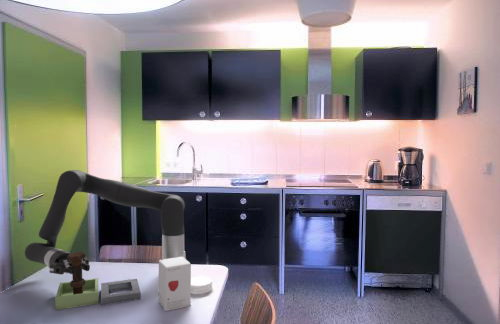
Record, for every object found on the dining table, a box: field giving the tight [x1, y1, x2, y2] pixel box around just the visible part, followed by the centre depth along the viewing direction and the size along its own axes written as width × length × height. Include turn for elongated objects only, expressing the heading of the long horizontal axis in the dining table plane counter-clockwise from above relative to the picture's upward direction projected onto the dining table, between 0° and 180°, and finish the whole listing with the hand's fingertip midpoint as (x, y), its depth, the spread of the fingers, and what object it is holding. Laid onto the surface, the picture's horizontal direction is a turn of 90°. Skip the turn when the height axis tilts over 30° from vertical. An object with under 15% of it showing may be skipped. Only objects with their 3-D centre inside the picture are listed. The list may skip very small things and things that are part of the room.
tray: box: [54, 277, 99, 311], centre depth 127 cm, size 13×14×4 cm
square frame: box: [100, 278, 142, 306], centre depth 131 cm, size 13×14×2 cm
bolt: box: [67, 251, 86, 294], centre depth 127 cm, size 6×5×15 cm
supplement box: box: [158, 257, 192, 312], centre depth 123 cm, size 9×9×15 cm
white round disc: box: [191, 275, 213, 296], centre depth 136 cm, size 10×10×4 cm
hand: (81, 269), depth 125 cm, fingers open, 4 cm apart
